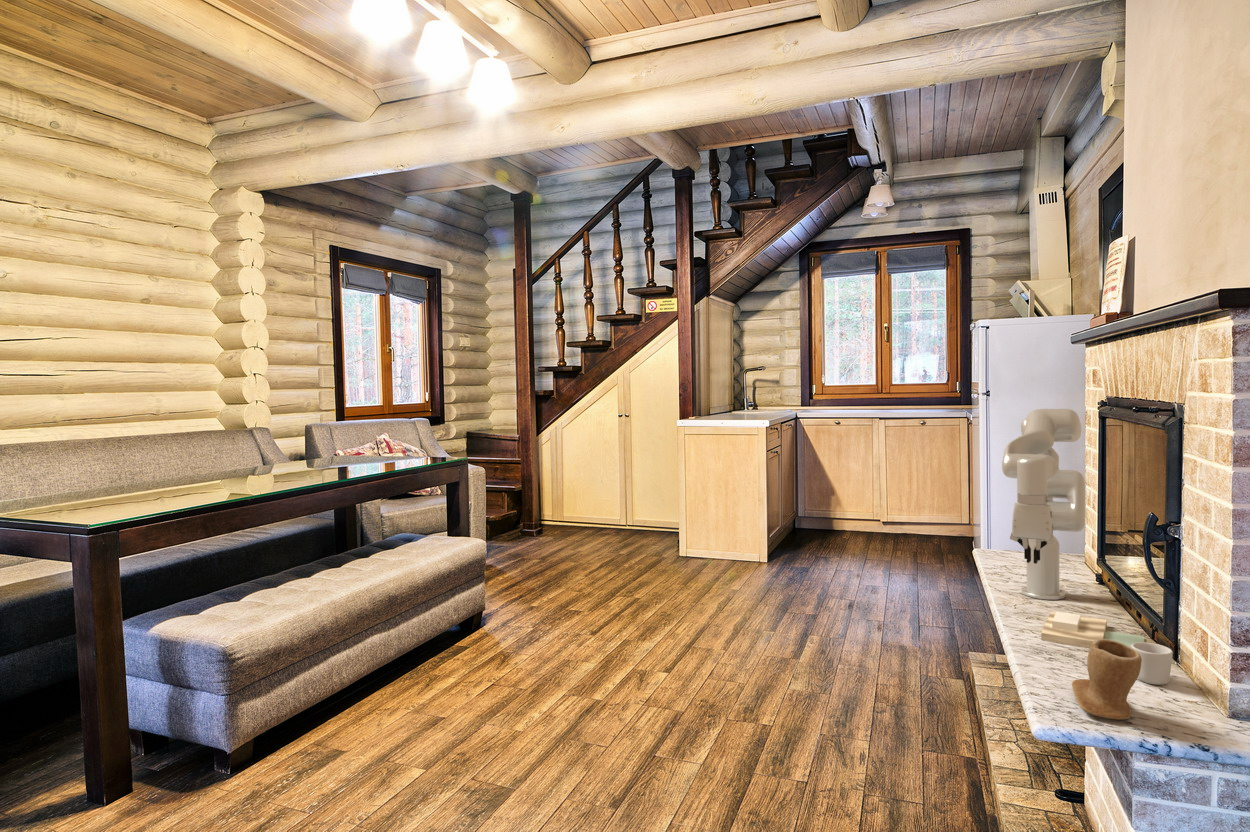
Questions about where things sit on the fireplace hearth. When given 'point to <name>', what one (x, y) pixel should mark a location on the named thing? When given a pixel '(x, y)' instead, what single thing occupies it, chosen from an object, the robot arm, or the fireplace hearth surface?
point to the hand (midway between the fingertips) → (1032, 561)
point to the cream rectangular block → (1066, 621)
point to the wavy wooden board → (1083, 637)
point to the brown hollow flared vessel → (1108, 679)
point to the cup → (1154, 662)
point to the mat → (1123, 638)
